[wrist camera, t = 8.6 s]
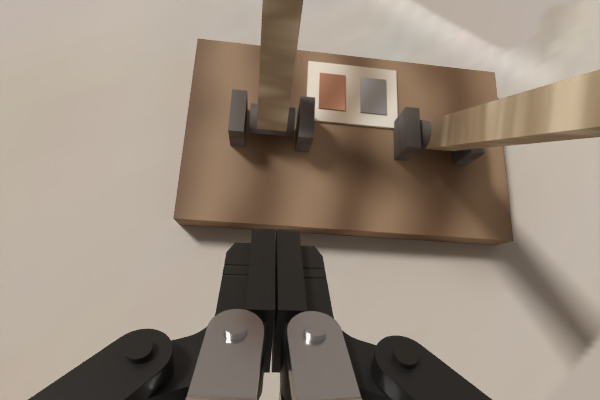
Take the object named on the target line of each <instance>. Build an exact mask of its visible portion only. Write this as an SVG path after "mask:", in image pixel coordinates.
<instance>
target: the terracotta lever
mask: <svg viewBox="0 0 600 400" xmlns="http://www.w3.org/2000/svg"><path fill="white" fill-rule="evenodd" d="M302 5H303V0H263V9H262V29H261V49H260V70H259V90H258V104H253V103H251V107H250V119H249V133H254V134H265V135H276V136H287V137H293V133H294V125H295V108H294V107H289V106H290V99H291V91H292V83H293V75H294V67H295V60H296V52H297V44H298V36H299V28H300V21H301V13H302Z"/></svg>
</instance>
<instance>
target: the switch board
mask: <svg viewBox="0 0 600 400" xmlns="http://www.w3.org/2000/svg"><path fill="white" fill-rule="evenodd" d="M260 49H261V46H257V45H249V44H240V43H231V42H222V41H214V40H205V39H198V42H197V49H196V56H195V64H194V71H193V79H192V86H191V93H190V101H189V108H188V115H187V123H186V130H185V138H184V145H183V152H182V160H181V167H180V175H179V182H178V189H177V197H176V204H175V211H174V219H175V220H176V222H177V223H178V224H180V225H195V226H211V227H226V228H242V229H253V228H265V229H275V231H276V230H277V229H287V230H299V232H304V233H320V234H335V235H351V236H366V237H382V238H397V239H413V240H428V241H444V242H459V243H475V244H490V245H498V244H502V243H506V242H510V241H513V235H512V225H511V216H510V207H509V198H508V189H507V180H506V171H505V162H504V153H503V146H499V147H488V148H478V149H467V150H459V151H458V152H454V151H443V150H431V149H420V148H421V132H420V120H426V121H427V120H431V119H434V118H438V117H441V116H444V115H448V114H451V113H454V112H458V111H461V110H465V109H468V108H471V107H475V106H478V105H482V104H485V103H488V102H492V101H495V100H498V98H497V89H496V80H495V73H494V72H486V71H477V70H468V69H459V68H451V67H442V66H433V65H424V64H415V63H407V62H398V61H389V60H380V59H372V58H363V57H354V56H345V55H336V54H328V53H319V52H310V51H301V50H297V52H296V60H295V67H294V75H293V83H292V91H291V99H290V106H289V107H294V108H295V125H294V133H293V137H287V136H276V135H265V134H254V133H249V119H250V107H251V103H253V104H258V90H259V70H260Z"/></svg>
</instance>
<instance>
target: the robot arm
mask: <svg viewBox="0 0 600 400" xmlns="http://www.w3.org/2000/svg"><path fill="white" fill-rule="evenodd" d="M324 269H325V268H324V262H323V256H322V255H321V254H320V253H319V251H318V250H317V249H316V248H315V246H301V244H300V234H299V230H287V229H277V230H276V240H275V229H265V228H253V230H252V241H251V243H234V244H233V246H232V247H231V248H230V249H229V250H228V251H227V253H226V258H225V264H224V270H223V276H222V281H221V287H220V292H219V298H218V303H217V309H216V314H215V317H214V318H213V319H212V320H211V321H210V322H209V324H208V326H207V327H206V328H205V329H203V330H202V331H200V332H198V333H196V334H194V335H191V336H188V337H184V338H180V339H176V340H172V341H171V340H170V339H169V337H168V336H167V335H166V334H164V333H163V332H161V331H158V330H154V329H140V330H136V331H132V332H130V333H127V334H125V335H124V336H122V337H120V338H119V339H117V340H116V341H114V342H113V343H111V344H110V345H108V346H107V347H105V348H104V349H102V350H101V351H100V352H98V353H97V354H95V355H94V356H92V357H91V358H89V359H88V360H86V361H85V362H83V363H82V364H80V365H79V366H77V367H76V368H74V369H73V370H71V371H70V372H68V373H67V374H65V375H64V376H62V377H61V378H60V379H58V380H57V381H55V382H54V383H52V384H51V385H49V386H48V387H46V388H45V389H43V390H42V391H40V392H39V393H37V394H36V395H34V396H33V397H31V398H30V399H28V400H259V398H260V396H261V393H262V387H263V375H264V372H269V371H270V361H271V350H272V372H280V393H279V400H492V399H490V398H489V397H488V396H487V395H485V394H484V393H483V392H481V391H480V390H479V389H477V388H476V387H475V386H474V385H472V384H471V383H470V382H468V381H467V380H466V379H464V378H463V377H462V376H461V375H459V374H458V373H457V372H455V371H454V370H453V369H451V368H450V367H449V366H448V365H446V364H445V363H444V362H442V361H441V360H440V359H438V358H437V357H436V356H435V355H433V354H432V353H431V352H429V351H428V350H427V349H425V348H424V347H423V346H422V345H420V344H419V343H417V342H416V341H414V340H412V339H409V338H407V337H403V336H388V337H386V338H384V339H382V340H381V341H380V342H379V343H378V344H377V345H373V344H370V343H367V342H364V341H360V340H357V339H355V338H353V337H351V336H349V335H347V334H346V333H345V332H343V331H342V330H341V327H340V326H339V324H338V323H337V322H336V321H335V320H334V317H333V312H332V307H331V301H330V296H329V290H328V284H327V280H326V273H325V270H324Z"/></svg>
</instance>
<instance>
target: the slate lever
mask: <svg viewBox="0 0 600 400" xmlns="http://www.w3.org/2000/svg"><path fill="white" fill-rule="evenodd" d="M420 132H421V148H420V149H431V150H443V151H454V152H458V151H459V150H467V149H478V148H488V147H499V146H509V145H519V144H530V143H540V142H551V141H561V140H572V139H582V138H593V137H600V70H597V71H594V72H590V73H587V74H583V75H580V76H577V77H573V78H570V79H566V80H563V81H560V82H556V83H553V84H549V85H546V86H543V87H539V88H536V89H532V90H529V91H526V92H522V93H519V94H516V95H512V96H509V97H505V98H502V99H499V100H495V101H492V102H488V103H485V104H482V105H478V106H475V107H471V108H468V109H465V110H461V111H458V112H454V113H451V114H448V115H444V116H441V117H438V118H434V119H431V120H427V121H426V120H420Z"/></svg>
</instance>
